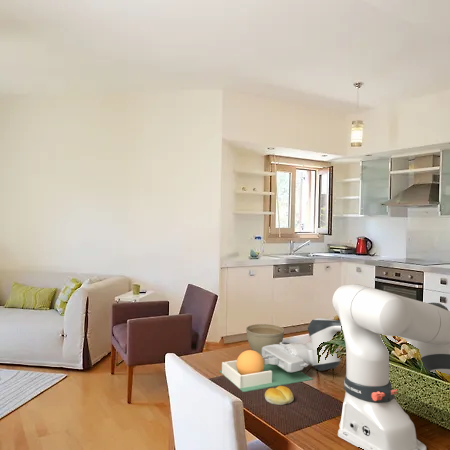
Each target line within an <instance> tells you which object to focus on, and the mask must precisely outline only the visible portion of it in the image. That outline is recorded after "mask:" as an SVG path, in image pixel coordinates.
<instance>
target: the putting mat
mask: <svg viewBox="0 0 450 450" xmlns="http://www.w3.org/2000/svg"><path fill="white" fill-rule="evenodd" d="M270 370H271V371H272V383H268V384H262V385H257V386H251V387H245V388H239V387H238V386H236V385H235V384H234V383H233V382H232V381H231V380H229V379H228V378H227V377H226V376H225V375H224V374H222V369H220V370H218V371H219V373H220V374H221V375H222V376H224V377H225V378H226V379H227V380H228V381H230V383H232V384H233V385H234V386H236V387H237V388H238V389H239V390H240V391H241V392H243V393H247V392H252V391H257V390H258V391H259V390H262V389H269V388H276V387H278V386H286V385H290V384H296V383H301V382H306V381H307V382H308V381H313V379H314V378H313V377H310V376H309V375H307V374H306V373H304V372H302V371H301V370H300V371H296V372H287V371H285V370H284V369H282V368H281V367H279V366H277V365H273V364H264V370H263V372H264V371H270ZM238 373H239V372H238Z"/></svg>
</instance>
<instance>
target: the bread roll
mask: <svg viewBox="0 0 450 450" xmlns="http://www.w3.org/2000/svg"><path fill="white" fill-rule="evenodd" d="M264 398H265V401H266V402H268V403H269V404H271V405H277V406H284V405H287V404H290V403H292V402H294V400H295V399H294V393H293V391H291V389H290V388H289V387H287V386H286V385H280V386H275V387H269V388H267V389H266V391H265V392H264Z"/></svg>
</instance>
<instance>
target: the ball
mask: <svg viewBox="0 0 450 450" xmlns="http://www.w3.org/2000/svg"><path fill="white" fill-rule="evenodd" d="M236 360H237V362H236V367H237V370H238V372H239V374H240V375H246V374H252V373H258V372H263V370H264V360H263V358H262V356H261V355H260V354H259V353H258V352H256V351H253V350H252V349H249V350H247V349H246V350H244V351H242V352H240V354H239V355H238V357H237V359H236Z"/></svg>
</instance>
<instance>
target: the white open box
mask: <svg viewBox="0 0 450 450" xmlns="http://www.w3.org/2000/svg"><path fill="white" fill-rule="evenodd" d="M236 362H237V359H235V360H229V361H222V362H221V370H222V374H221V375H223V374H224V375H225V376H226V377H227V378H228V379H229V380H228V379H227V378H226V377H225V376H224V375H223V376H224V377H225V378H226V379H227V380H228V381H230V380H231V381H232V382H233V383H234V384H235V385H236V387H237V386H238V387H239V388H245V387H251V386H257V385H262V384H268V383H272V371H271V370H270V371H264V372H258V373H252V374H246V375H240V374H239V373H238V370H237V367H236ZM231 381H230V382H231ZM232 382H231V383H232ZM233 383H232V384H233ZM234 384H233V385H234ZM235 385H234V386H235ZM238 387H237V388H238ZM239 388H238V389H239Z"/></svg>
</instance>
